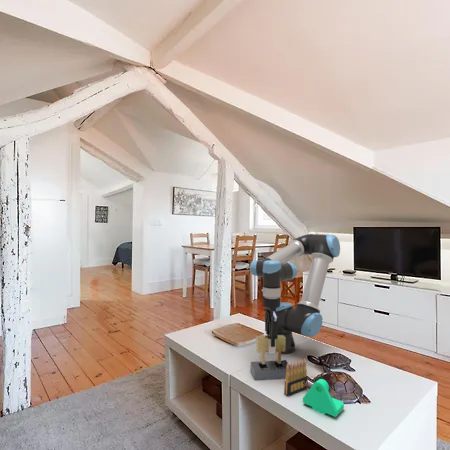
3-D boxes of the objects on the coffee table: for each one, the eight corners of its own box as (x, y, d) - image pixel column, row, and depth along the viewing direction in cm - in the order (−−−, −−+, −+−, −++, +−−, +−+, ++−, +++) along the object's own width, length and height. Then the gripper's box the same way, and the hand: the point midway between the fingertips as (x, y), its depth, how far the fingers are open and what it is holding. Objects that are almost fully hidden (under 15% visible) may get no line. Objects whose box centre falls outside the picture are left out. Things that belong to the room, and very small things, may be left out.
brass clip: (283, 360, 133) (283, 334, 133) (285, 363, 130) (285, 337, 130) (256, 361, 131) (256, 335, 131) (257, 364, 128) (257, 338, 128)
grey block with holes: (285, 369, 135) (285, 360, 135) (292, 378, 127) (292, 368, 127) (250, 371, 133) (250, 361, 133) (254, 380, 125) (254, 370, 125)
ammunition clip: (287, 397, 114) (287, 364, 114) (284, 394, 115) (284, 362, 115) (307, 389, 119) (308, 358, 119) (304, 386, 121) (304, 356, 121)
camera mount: (344, 410, 106) (344, 380, 106) (335, 420, 100) (335, 389, 100) (312, 396, 114) (313, 369, 114) (302, 405, 109) (302, 376, 109)
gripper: (258, 293, 138) (257, 344, 138) (268, 301, 122) (267, 360, 122) (274, 292, 139) (273, 344, 139) (286, 301, 123) (285, 359, 123)
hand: (270, 351), depth 130 cm, fingers closed on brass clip, 3 cm apart
